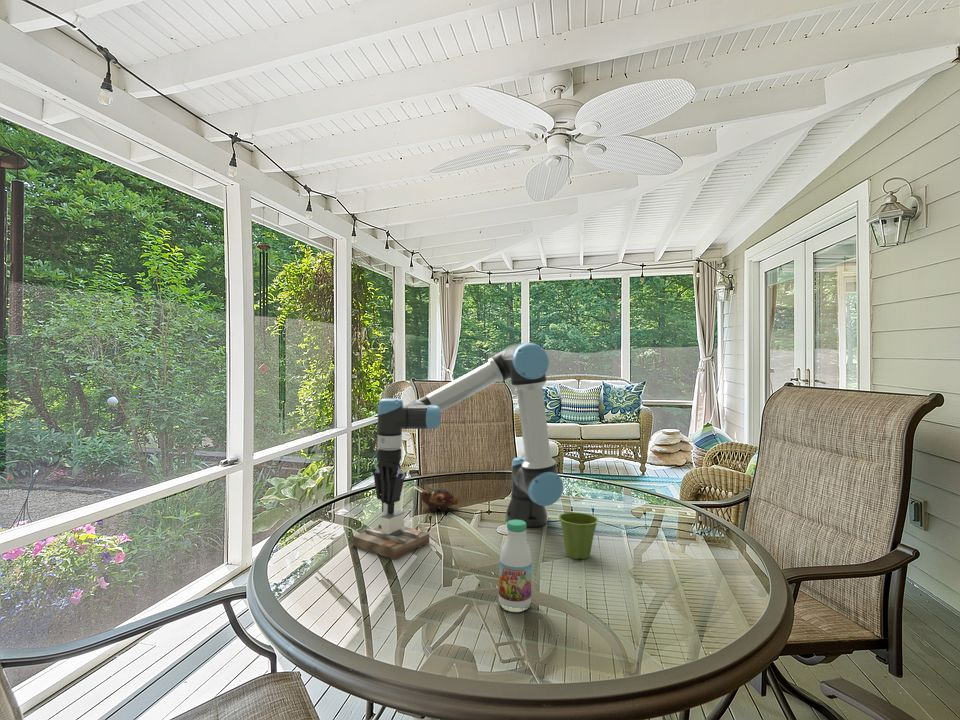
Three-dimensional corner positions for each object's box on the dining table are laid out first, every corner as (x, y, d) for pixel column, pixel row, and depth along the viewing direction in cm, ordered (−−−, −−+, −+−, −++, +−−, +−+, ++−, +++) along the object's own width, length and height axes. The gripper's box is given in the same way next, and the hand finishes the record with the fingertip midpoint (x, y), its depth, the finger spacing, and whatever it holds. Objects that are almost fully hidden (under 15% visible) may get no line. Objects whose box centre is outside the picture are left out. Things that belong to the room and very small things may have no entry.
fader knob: (404, 532, 155) (404, 512, 155) (388, 539, 149) (388, 518, 149) (396, 530, 157) (397, 510, 157) (380, 536, 151) (381, 516, 151)
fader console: (429, 542, 156) (429, 530, 155) (394, 559, 142) (394, 545, 142) (389, 531, 165) (389, 519, 165) (353, 546, 151) (353, 533, 151)
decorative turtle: (415, 508, 190) (417, 487, 191) (452, 506, 197) (453, 486, 197) (424, 514, 182) (425, 492, 182) (461, 512, 188) (463, 491, 189)
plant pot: (599, 550, 153) (600, 514, 153) (595, 565, 141) (596, 526, 141) (561, 545, 157) (562, 509, 156) (554, 559, 145) (555, 521, 145)
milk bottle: (496, 597, 121) (498, 516, 121) (527, 597, 122) (529, 516, 122) (500, 614, 113) (502, 527, 113) (533, 613, 114) (536, 527, 114)
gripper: (365, 447, 155) (364, 522, 155) (396, 452, 148) (394, 530, 148) (382, 444, 161) (381, 515, 161) (413, 448, 154) (411, 524, 154)
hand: (387, 522), depth 154 cm, fingers closed
